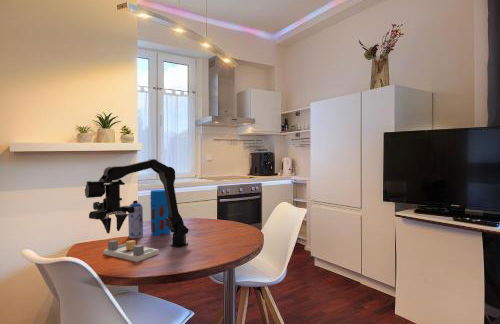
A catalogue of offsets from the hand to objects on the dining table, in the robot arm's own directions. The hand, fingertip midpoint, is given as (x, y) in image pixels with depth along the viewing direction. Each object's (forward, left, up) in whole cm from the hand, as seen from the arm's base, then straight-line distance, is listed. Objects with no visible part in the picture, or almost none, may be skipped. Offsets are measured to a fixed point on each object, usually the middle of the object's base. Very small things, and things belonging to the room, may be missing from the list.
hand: (113, 232), depth 134 cm
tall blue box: (-43, -16, -12) cm, 48 cm away
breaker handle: (-9, 0, -10) cm, 13 cm away
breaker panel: (-9, 0, -12) cm, 15 cm away
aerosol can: (-32, -24, -12) cm, 42 cm away
